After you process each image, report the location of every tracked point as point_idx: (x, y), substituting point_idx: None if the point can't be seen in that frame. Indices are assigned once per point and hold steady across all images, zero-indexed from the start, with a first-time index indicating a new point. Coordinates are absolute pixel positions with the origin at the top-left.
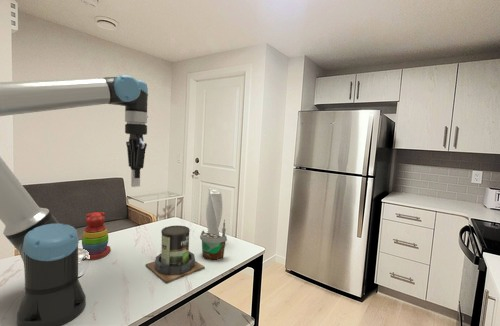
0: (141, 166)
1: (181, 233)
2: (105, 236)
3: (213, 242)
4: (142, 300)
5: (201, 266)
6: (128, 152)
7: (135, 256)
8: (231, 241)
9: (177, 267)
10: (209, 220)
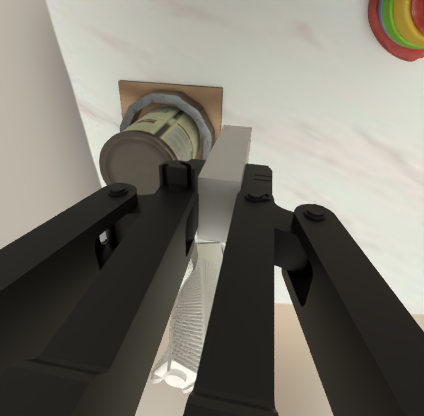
0: (108, 235)
1: (103, 166)
2: (393, 25)
3: None
4: (86, 3)
5: None
6: (407, 383)
7: (294, 96)
8: None
9: (123, 120)
10: (196, 289)
